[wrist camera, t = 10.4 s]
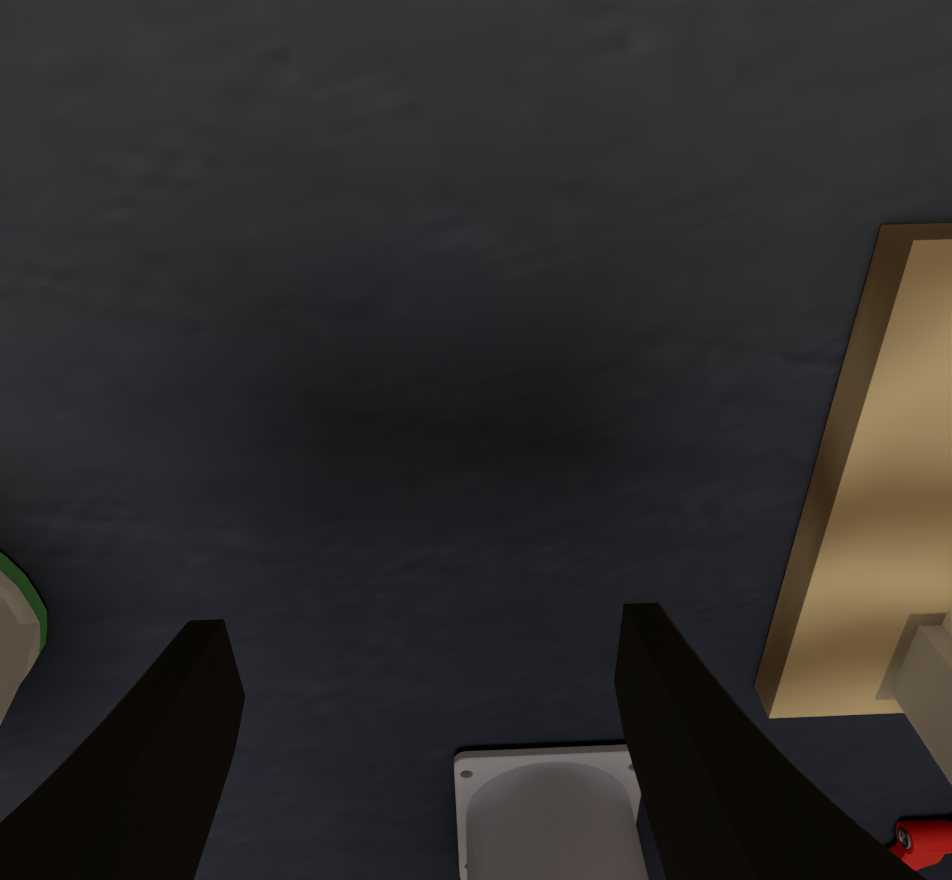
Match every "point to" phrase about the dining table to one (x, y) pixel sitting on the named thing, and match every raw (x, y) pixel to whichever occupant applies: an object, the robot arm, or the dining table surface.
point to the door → (929, 689)
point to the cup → (18, 630)
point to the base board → (874, 497)
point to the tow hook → (923, 841)
